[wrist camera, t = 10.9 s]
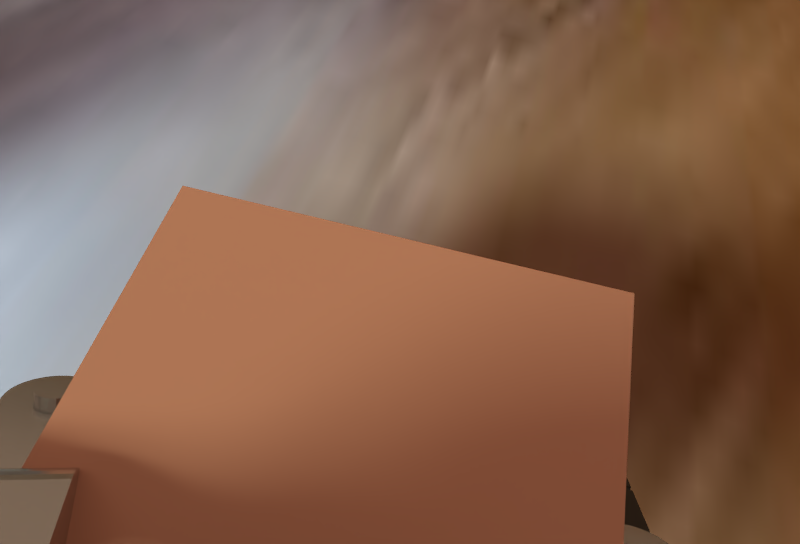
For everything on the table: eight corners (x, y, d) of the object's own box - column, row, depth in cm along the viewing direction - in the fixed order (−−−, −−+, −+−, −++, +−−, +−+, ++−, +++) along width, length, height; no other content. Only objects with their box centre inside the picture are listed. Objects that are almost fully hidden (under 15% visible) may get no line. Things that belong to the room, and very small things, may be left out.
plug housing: (208, 579, 13) (-34, 564, 5) (278, 389, 15) (186, 180, 7) (460, 654, 13) (613, 761, 5) (493, 446, 15) (635, 286, 7)
